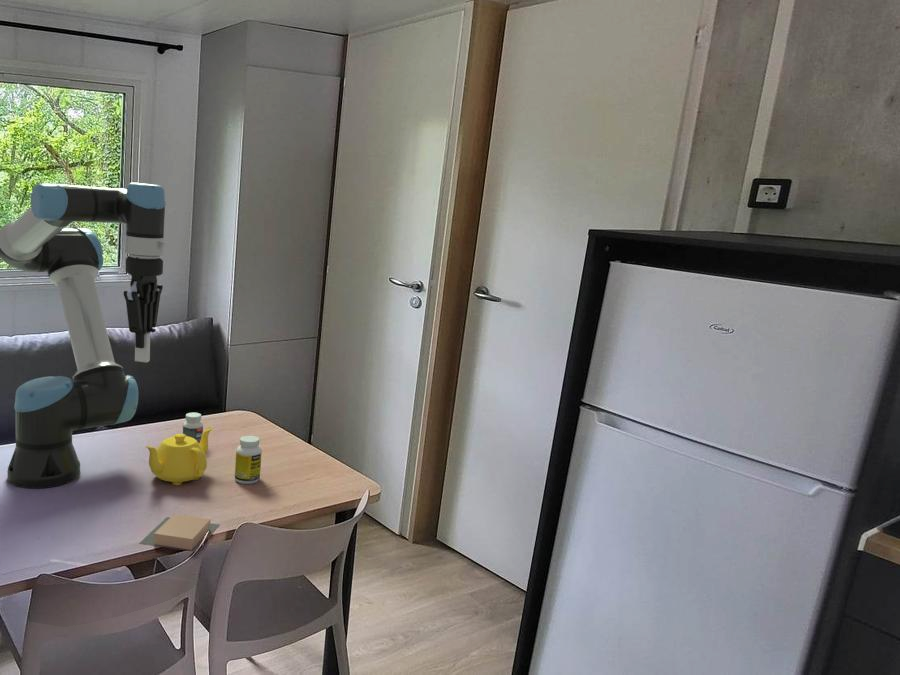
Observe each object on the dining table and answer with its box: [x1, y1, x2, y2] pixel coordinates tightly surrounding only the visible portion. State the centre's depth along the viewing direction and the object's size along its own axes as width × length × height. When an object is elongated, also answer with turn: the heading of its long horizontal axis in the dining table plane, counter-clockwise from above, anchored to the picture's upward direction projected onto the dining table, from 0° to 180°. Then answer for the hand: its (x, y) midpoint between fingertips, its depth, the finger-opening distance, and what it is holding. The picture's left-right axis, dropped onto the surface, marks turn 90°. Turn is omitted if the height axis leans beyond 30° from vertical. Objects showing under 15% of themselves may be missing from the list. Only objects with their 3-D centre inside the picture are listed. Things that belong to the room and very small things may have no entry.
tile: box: [154, 513, 212, 550], centre depth 149 cm, size 8×2×9 cm
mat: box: [139, 516, 220, 553], centre depth 151 cm, size 12×12×1 cm
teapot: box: [145, 426, 213, 486], centre depth 175 cm, size 20×15×12 cm
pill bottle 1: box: [182, 412, 204, 443], centre depth 198 cm, size 5×5×9 cm
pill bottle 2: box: [234, 435, 263, 485], centre depth 180 cm, size 6×6×11 cm
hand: (142, 360), depth 159 cm, fingers closed
